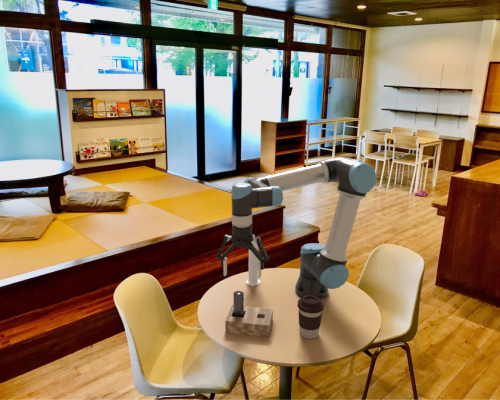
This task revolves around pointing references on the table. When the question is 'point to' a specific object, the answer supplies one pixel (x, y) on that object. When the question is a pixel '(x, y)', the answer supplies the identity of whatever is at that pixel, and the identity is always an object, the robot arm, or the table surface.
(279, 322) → the table surface
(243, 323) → the oak block
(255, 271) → the candle
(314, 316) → the coffee cup
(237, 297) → the steel pin
